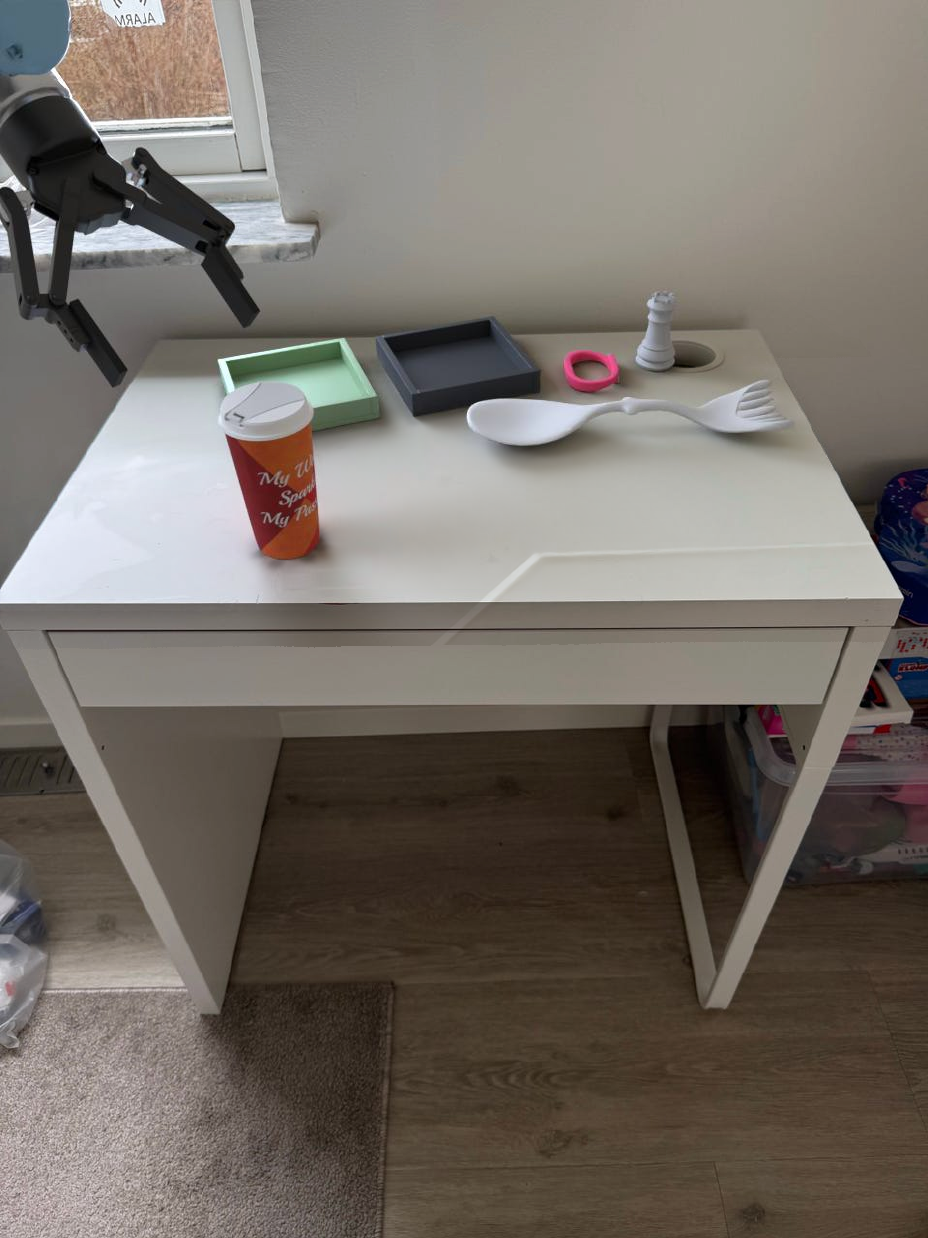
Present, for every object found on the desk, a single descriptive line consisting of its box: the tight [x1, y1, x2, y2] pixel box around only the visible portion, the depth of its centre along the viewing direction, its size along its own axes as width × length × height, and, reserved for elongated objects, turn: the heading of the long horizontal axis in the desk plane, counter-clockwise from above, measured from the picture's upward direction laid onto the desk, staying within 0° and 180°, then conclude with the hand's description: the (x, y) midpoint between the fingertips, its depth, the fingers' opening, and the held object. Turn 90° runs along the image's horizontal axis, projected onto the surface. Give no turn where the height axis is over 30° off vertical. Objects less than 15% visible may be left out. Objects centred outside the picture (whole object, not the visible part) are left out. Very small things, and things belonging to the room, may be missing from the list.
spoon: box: [466, 379, 794, 447], centre depth 96 cm, size 9×32×4 cm, turn 91°
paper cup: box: [217, 382, 320, 560], centre depth 80 cm, size 8×8×14 cm
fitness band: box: [563, 349, 620, 392], centre depth 106 cm, size 8×6×2 cm
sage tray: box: [217, 337, 381, 432], centre depth 103 cm, size 15×15×3 cm
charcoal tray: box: [375, 315, 542, 417], centre depth 106 cm, size 15×15×3 cm
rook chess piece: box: [635, 290, 678, 372], centre depth 105 cm, size 4×4×8 cm
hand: (189, 348), depth 79 cm, fingers open, 13 cm apart
